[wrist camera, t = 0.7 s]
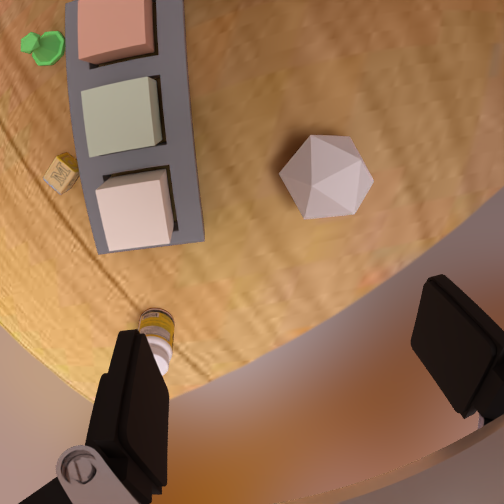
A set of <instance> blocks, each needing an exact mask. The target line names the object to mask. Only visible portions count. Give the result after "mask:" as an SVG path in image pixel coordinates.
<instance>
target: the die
mask: <svg viewBox="0 0 504 504" xmlns="http://www.w3.org/2000/svg"><path fill="white" fill-rule="evenodd" d="M279 175H280V177H281V179H282V180H283V182H284V184H285V186H286V187H287V189H288V191H289V193H290V195H291V196H292V198H293V200H294V202H295V204H296V205H297V207H298V209H299V211H300V213H301V215H302V216H303V218H304V220H305V219H314V218H324V217H333V216H343V215H354V214H355V213H356V211H357V209H358V208H359V206H360V204H361V203H362V201H363V199H364V198H365V196H366V194H367V192H368V191H369V189H370V187H371V186H372V184H373V182H374V180H373V178H372V176H371V174H370V172H369V170H368V169H367V167H366V165H365V163H364V161H363V159H362V158H361V156H360V154H359V152H358V150H357V148H356V147H355V145H354V143H353V141H352V140H351V138H350V137H349V136H329V135H310V136H309V137H308V139H307V140H306V141H305V142H304V143H303V145H302V146H301V147H300V148H299V149H298V151H297V152H296V153H295V154H294V155H293V157H292V158H291V159H290V160H289V162H288V163H287V164H286V165H285V166H284V168H283V169H282V170H281V171H280V172H279Z"/></svg>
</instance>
